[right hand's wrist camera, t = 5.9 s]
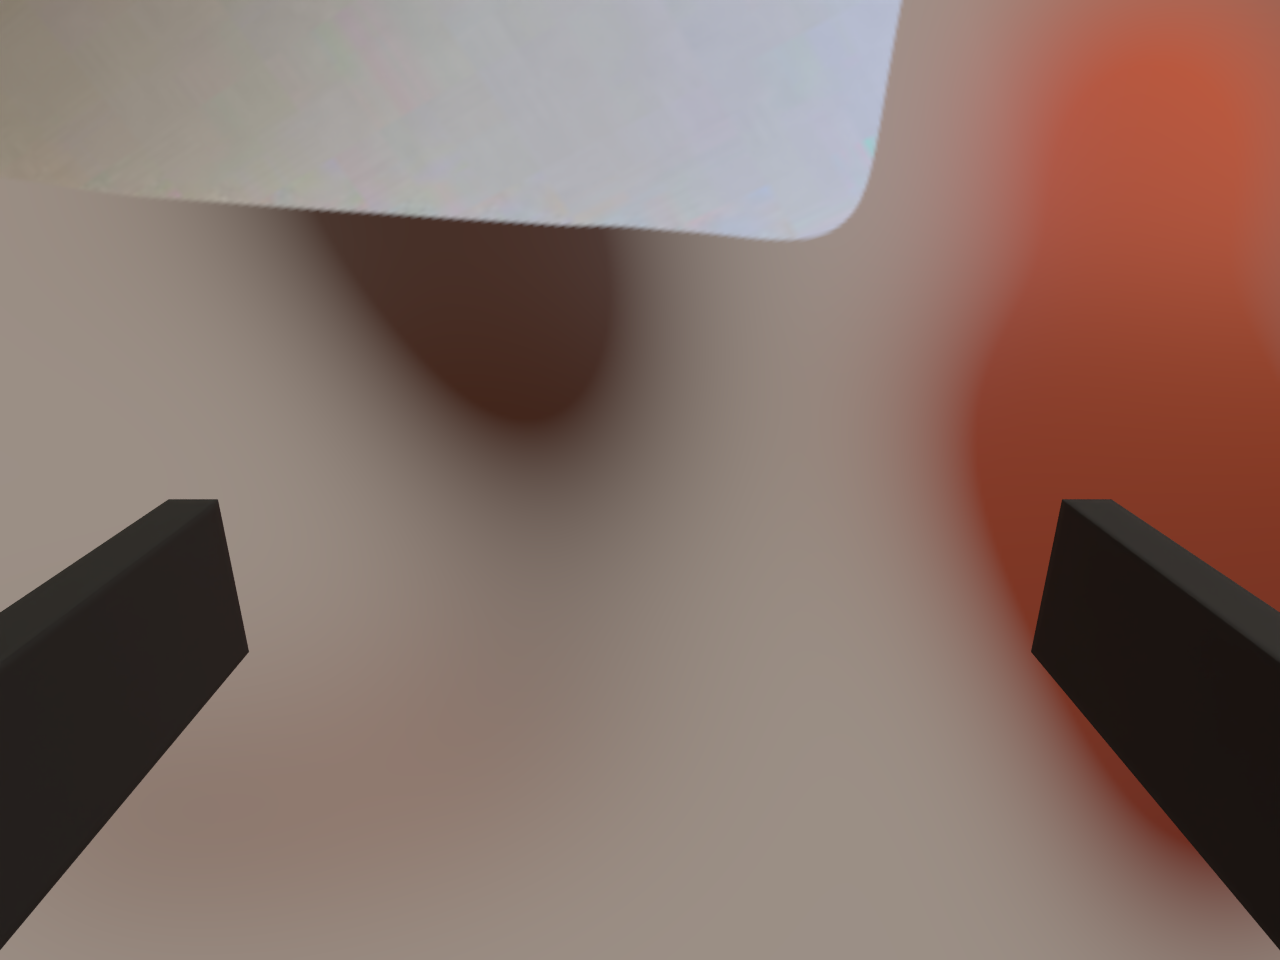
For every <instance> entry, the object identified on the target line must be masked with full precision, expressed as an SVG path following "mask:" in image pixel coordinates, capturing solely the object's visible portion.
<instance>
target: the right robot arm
mask: <svg viewBox="0 0 1280 960" xmlns="http://www.w3.org/2000/svg"><path fill="white" fill-rule="evenodd" d="M248 652H249V650H248V645H247V640H246V635H245V631H244V626H243V621H242V616H241V611H240V606H239V601H238V596H237V591H236V586H235V581H234V577H233V571H232V567H231V562H230V557H229V552H228V547H227V542H226V537H225V532H224V527H223V522H222V517H221V512H220V508H219V503H218V500H217V499H213V500H212V499H209V500H208V499H207V500H205V499H199V500H197V499H192V500H189V499H188V500H187V499H180V500H179V499H174V500H172V499H169V500H167V501H166V502H164V503H163V504H161V505H160V506H158V507H157V508H155V509H154V510H152V511H151V512H149V513H148V514H146V515H145V516H143V517H142V518H140V519H139V520H137V521H136V522H134V523H133V524H131V525H130V526H128V527H127V528H126V529H124V530H122V531H121V532H120V533H118V534H116V535H115V536H114V537H112V538H110V539H109V540H108V541H106V542H105V543H103V544H102V545H100V546H99V547H97V548H96V549H94V550H93V551H91V552H90V553H88V554H87V555H85V556H84V557H82V558H81V559H79V560H78V561H76V562H75V563H73V564H72V565H70V566H69V567H67V568H66V569H64V570H63V571H61V572H60V573H58V574H57V575H55V576H54V577H52V578H51V579H49V580H48V581H47V582H45V583H44V584H42V585H41V586H39V587H38V588H36V589H35V590H33V591H32V592H30V593H29V594H27V595H26V596H24V597H23V598H21V599H20V600H18V601H17V602H15V603H14V604H12V605H11V606H9V607H8V608H6V609H5V610H3V611H2V612H0V950H1V948H2V947H3V946H4V945H5V944H6V942H7V941H8V940H9V939H10V938H11V936H12V935H13V934H14V933H15V932H16V930H17V929H18V928H19V927H20V926H21V924H22V923H23V922H24V921H25V920H26V918H27V917H28V916H29V915H30V914H31V912H32V911H33V910H34V909H35V908H36V906H37V905H38V904H39V903H40V902H41V900H42V899H43V898H44V897H45V896H46V894H47V893H48V892H49V891H50V890H51V888H52V887H53V886H54V885H55V884H56V882H57V881H58V880H59V879H60V878H61V876H62V875H63V874H64V873H65V872H66V870H67V869H68V868H69V867H70V866H71V864H72V863H73V862H74V861H75V860H76V858H77V857H78V856H79V855H80V854H81V852H82V851H83V850H84V849H85V848H86V846H87V845H88V844H89V843H90V842H91V840H92V839H93V838H94V837H95V836H96V834H97V833H98V832H99V831H100V830H101V829H102V827H103V826H104V825H105V824H106V823H107V821H108V820H109V819H110V818H111V817H112V815H113V814H114V813H115V812H116V811H117V809H118V808H119V807H120V806H121V804H122V803H123V802H124V801H125V800H126V799H127V797H128V796H129V795H130V794H131V793H132V791H133V790H134V789H135V788H136V787H137V785H138V784H139V783H140V782H141V781H142V779H143V778H144V777H145V776H146V775H147V773H148V772H149V771H150V770H151V769H152V767H153V766H154V765H155V764H156V763H157V761H158V760H159V759H160V758H161V757H162V755H163V754H164V753H165V752H166V751H167V749H168V748H169V747H170V746H171V745H172V743H173V742H174V741H175V740H176V739H177V737H178V736H179V735H180V734H181V733H182V731H183V730H184V729H185V728H186V727H187V725H188V724H189V723H190V722H191V721H192V719H193V718H194V717H195V716H196V715H197V713H198V712H199V711H200V710H201V709H202V707H203V706H204V705H205V704H206V703H207V701H208V700H209V699H210V698H211V697H212V695H213V694H214V693H215V692H216V691H217V689H218V688H219V687H220V686H221V685H222V683H223V682H224V681H225V680H226V678H227V677H228V676H229V675H230V674H231V673H232V671H233V670H234V669H235V668H236V667H237V665H238V664H239V663H240V662H241V661H242V659H243V658H244V657H245V656H246V655H247V653H248ZM1031 652H1032V653H1033V655H1034V656H1035V657H1036V658H1037V659H1038V661H1039V662H1040V663H1041V664H1042V665H1043V667H1044V668H1045V669H1046V670H1047V671H1048V673H1049V674H1050V675H1051V676H1052V677H1053V679H1054V680H1055V681H1056V682H1057V683H1058V685H1059V686H1060V687H1061V688H1062V689H1063V691H1064V692H1065V693H1066V694H1067V695H1068V697H1069V698H1070V699H1071V700H1072V701H1073V703H1074V704H1075V705H1076V706H1077V707H1078V709H1079V710H1080V711H1081V712H1082V713H1083V715H1084V716H1085V717H1086V718H1087V719H1088V721H1089V722H1090V723H1091V724H1092V725H1093V727H1094V728H1095V729H1096V730H1097V731H1098V733H1099V734H1100V735H1101V736H1102V737H1103V739H1104V740H1105V741H1106V742H1107V743H1108V745H1109V746H1110V747H1111V748H1112V749H1113V751H1114V752H1115V753H1116V754H1117V755H1118V757H1119V758H1120V759H1121V760H1122V761H1123V763H1124V764H1125V765H1126V766H1127V767H1128V769H1129V770H1130V771H1131V772H1132V773H1133V775H1134V776H1135V777H1136V778H1137V779H1138V781H1139V782H1140V783H1141V784H1142V785H1143V787H1144V788H1145V789H1146V790H1147V791H1148V793H1149V794H1150V795H1151V796H1152V797H1153V799H1154V800H1155V801H1156V802H1157V803H1158V805H1159V806H1160V807H1161V808H1162V809H1163V810H1164V812H1165V813H1166V814H1167V815H1168V817H1169V818H1170V819H1171V820H1172V821H1173V823H1174V824H1175V825H1176V826H1177V827H1178V829H1179V830H1180V831H1181V832H1182V833H1183V835H1184V836H1185V837H1186V838H1187V839H1188V841H1189V842H1190V843H1191V844H1192V845H1193V846H1194V848H1195V849H1196V850H1197V851H1198V852H1199V854H1200V855H1201V856H1202V857H1203V858H1204V860H1205V861H1206V862H1207V863H1208V864H1209V866H1210V867H1211V868H1212V869H1213V870H1214V872H1215V873H1216V874H1217V875H1218V876H1219V878H1220V879H1221V880H1222V881H1223V882H1224V884H1225V885H1226V886H1227V887H1228V888H1229V890H1230V891H1231V892H1232V893H1233V894H1234V896H1235V897H1236V898H1237V899H1238V900H1239V902H1240V903H1241V904H1242V905H1243V906H1244V908H1245V909H1246V910H1247V911H1248V912H1249V914H1250V915H1251V916H1252V917H1253V918H1254V920H1255V921H1256V922H1257V923H1258V924H1259V926H1260V927H1261V928H1262V929H1263V930H1264V932H1265V933H1266V934H1267V935H1268V936H1269V938H1270V939H1271V940H1272V941H1273V942H1274V944H1275V945H1276V946H1277V947H1278V948H1279V950H1280V612H1278V611H1277V610H1275V609H1274V608H1272V607H1271V606H1269V605H1268V604H1266V603H1265V602H1263V601H1262V600H1260V599H1259V598H1257V597H1256V596H1254V595H1253V594H1251V593H1250V592H1248V591H1247V590H1245V589H1244V588H1242V587H1241V586H1239V585H1238V584H1237V583H1235V582H1234V581H1232V580H1231V579H1229V578H1228V577H1226V576H1225V575H1223V574H1222V573H1220V572H1219V571H1217V570H1216V569H1214V568H1213V567H1211V566H1210V565H1208V564H1207V563H1205V562H1204V561H1202V560H1201V559H1199V558H1198V557H1196V556H1195V555H1193V554H1192V553H1190V552H1189V551H1187V550H1186V549H1184V548H1183V547H1181V546H1180V545H1178V544H1177V543H1175V542H1174V541H1172V540H1171V539H1170V538H1168V537H1167V536H1165V535H1164V534H1162V533H1161V532H1159V531H1158V530H1156V529H1155V528H1153V527H1152V526H1150V525H1149V524H1147V523H1146V522H1144V521H1143V520H1141V519H1140V518H1138V517H1137V516H1135V515H1134V514H1132V513H1131V512H1129V511H1128V510H1126V509H1125V508H1123V507H1122V506H1120V505H1119V504H1117V503H1116V502H1114V501H1113V500H1111V499H1110V500H1106V499H1105V500H1104V499H1102V500H1099V499H1097V500H1095V499H1093V500H1091V499H1087V500H1085V499H1083V500H1082V499H1073V500H1072V499H1070V500H1068V499H1063V500H1062V503H1061V508H1060V512H1059V517H1058V522H1057V527H1056V532H1055V537H1054V542H1053V547H1052V552H1051V557H1050V562H1049V566H1048V571H1047V576H1046V581H1045V586H1044V591H1043V596H1042V601H1041V606H1040V611H1039V616H1038V621H1037V626H1036V630H1035V635H1034V640H1033V645H1032V650H1031Z"/></svg>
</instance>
